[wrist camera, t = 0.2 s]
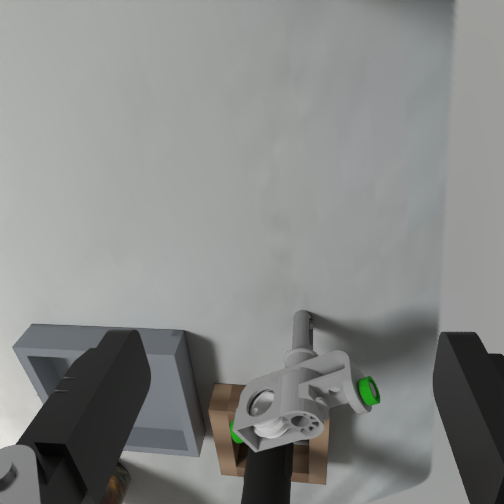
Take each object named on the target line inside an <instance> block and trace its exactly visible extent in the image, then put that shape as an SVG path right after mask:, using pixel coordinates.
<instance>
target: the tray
mask: <svg viewBox="0 0 504 504" xmlns="http://www.w3.org/2000/svg"><path fill="white" fill-rule="evenodd" d="M111 329H122V330H137V331H138V332H139V333H140V336H141V339H142V342H143V346H144V349H145V352H146V356H147V359H148V362H149V366H150V370H151V384H150V389H149V392H148V394H147V396H146V399H145V401H144V403H143V406H142V408H141V410H140V412H139V415H138V417H137V419H136V421H135V424H134V426H133V428H132V431H131V433H130V435H129V437H128V440H127V442H126V444H125V447H124V449H123V451H135V452H146V453H157V454H168V455H179V456H191V457H200V452H201V448H202V444H203V440H204V436H205V432H206V429H205V425H204V420H203V416H202V411H201V406H200V402H199V397H198V393H197V388H196V384H195V379H194V374H193V370H192V365H191V361H190V356H189V352H188V347H187V342H186V338H185V333H184V330H165V329H141V328H117V327H93V326H69V325H45V324H31V326H30V327H29V328H28V329H27V330H26V331H25V333H24V334H23V335H22V336H21V337H20V339H19V340H18V341H17V342H16V343H15V344H14V346H13V347H12V348H13V350H14V352H15V353H16V355H17V357H18V359H19V361H20V363H21V364H22V366H23V368H24V370H25V372H26V374H27V375H28V377H29V379H30V381H31V383H32V384H33V386H34V388H35V390H36V392H37V394H38V395H39V397H40V399H41V401H42V403H43V405H44V403H45V402H46V401H47V399H48V398H49V396H50V395H51V393H54V391H55V390H54V389H55V388H56V386H57V385H58V383H59V382H60V381H61V380H63V378H64V377H63V376H64V375H65V373H66V372H67V371H68V369H69V368H70V366H71V365H72V363H73V362H74V361H75V360H76V359H77V358H79V357H80V356H81V355H82V354H83V353H85V352H86V351H87V350H88V349H90V348H96V347H97V346H98V344H99V343H100V341H101V340H102V338H103V337H104V335H105V334H106V332H107V331H108V330H111Z"/></svg>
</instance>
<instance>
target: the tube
mask: <svg viewBox="0 0 504 504" xmlns="http://www.w3.org/2000/svg"><path fill="white" fill-rule="evenodd" d="M283 434H284V433H283ZM293 452H294V444H293V442H292V443H288V444H284V445H281V446H277V447H273V448H270V449H266V450H262V451H259V452H254V451H253V450H252V449H251V448H250V447H249V449H248V452H247V459H246V466H245V472H244V486H243V493H242V500H241V504H290V489H291V477H292V473H293Z"/></svg>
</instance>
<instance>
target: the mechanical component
mask: <svg viewBox="0 0 504 504" xmlns="http://www.w3.org/2000/svg"><path fill="white" fill-rule="evenodd" d="M310 318H311V316H310V315H309V313H308V312H307V311H298V312H297V313H296V314H295V315H294V327H293V343H292V350H290V351H289V352H288V353H287V354H286V355H285V358H284V363H285V365H286V368H285V369H282V370H279V371H276V372H273V373H271V374H268V375H265V376H262V377H260V378H257V379H254V380H253V381H251V382H250V383H248V384H247V385H246V387H245V388H244V389H243V391H242V393H241V395H240V401H239V406H238V408H237V409H236V414H235V419H234V420H232V422H231V424H230V433H231V436H232V438H233V440H234V441H235V442H236V443H242V442H245V443H246V444H247V445H248V446H249V447H250V448H251V449H252V450H253V451H254V452H259V451H262V450H266V449H270V448H273V447H277V446H281V445H284V444H288V443H292V442H295V441H299V440H307V439H312V438H315V437H317V436H319V435H320V434H321V433H322V432H323V430H324V420H327V419H330V414H329V409H330V408H333V407H336V406H340V405H343V404H346V403H349V404H350V405H351V407H352V408H353V410H354V411H355V412H356V413H357V414H359V415H361V414H364V413H368V412H370V411H371V409H372V405H374V404H378V403H380V395H379V391H378V388H377V386H376V384H375V382H374V380H373V379H372V378H371V377H370V376H368V377H364V376H363V374H362V373H361V372H360V370H359V369H358V368H357V367H356V365H355V364H354V363H353V361H352V360H351V359H350V357H349V356H348V355H347V354H346V353H345V352H344V351H340V350H336V351H332V352H329V353H326V354H323V355H320V356H318V355H317V354H316V353H315V352H314V351H313V320H311V321H309V319H310ZM333 387H337V388H340V389H341V390H340V391H339V392H332V391H330V390H329V389H330V388H333ZM283 433H284V434H283Z"/></svg>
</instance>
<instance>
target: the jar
mask: <svg viewBox="0 0 504 504" xmlns="http://www.w3.org/2000/svg"><path fill="white" fill-rule="evenodd" d="M129 483H130V477H129V474H128V473H127V471H126V470H125V468H124V467H123V466H122V465H121V464H119V463H118V462H117V465H116V467H115V469H114V472H113V474H112V476H111V478H110V481H109V483H108V485H107V488H106V490H105V492H104V494H103V497H102V499H101V501H100V503H99V504H122V503H123V500H124V497H125V495H126V492H127V489H128V486H129Z"/></svg>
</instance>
